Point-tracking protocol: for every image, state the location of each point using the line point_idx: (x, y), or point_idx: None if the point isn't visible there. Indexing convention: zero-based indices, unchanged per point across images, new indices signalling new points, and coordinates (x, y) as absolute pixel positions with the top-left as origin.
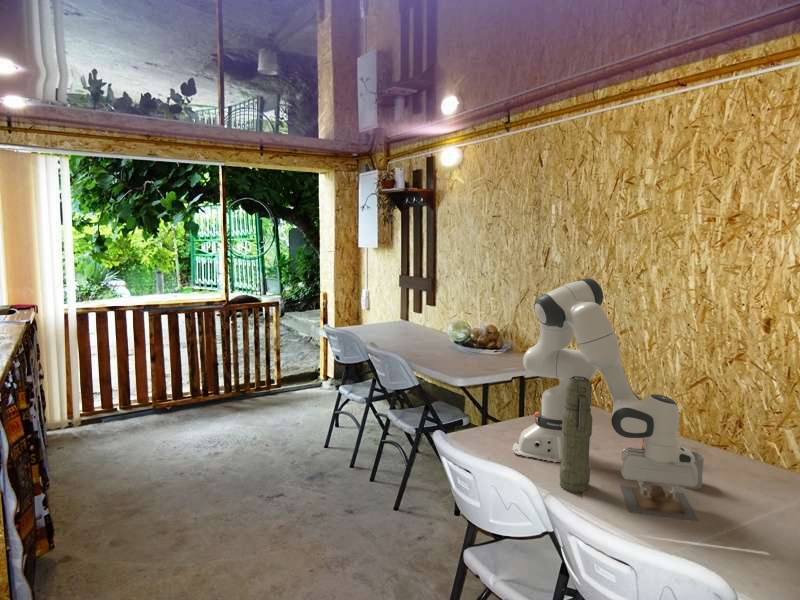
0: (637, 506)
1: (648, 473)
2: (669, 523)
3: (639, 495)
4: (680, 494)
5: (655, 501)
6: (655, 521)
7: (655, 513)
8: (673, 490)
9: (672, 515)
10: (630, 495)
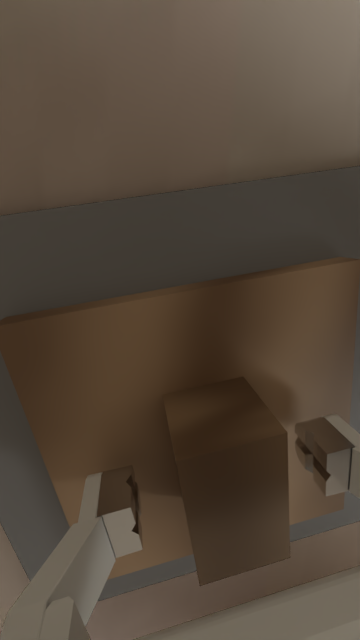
0: None
1: None
2: (124, 114)
3: None
4: None
5: (231, 382)
6: (234, 107)
7: (231, 227)
8: (88, 559)
9: (101, 248)
10: None
